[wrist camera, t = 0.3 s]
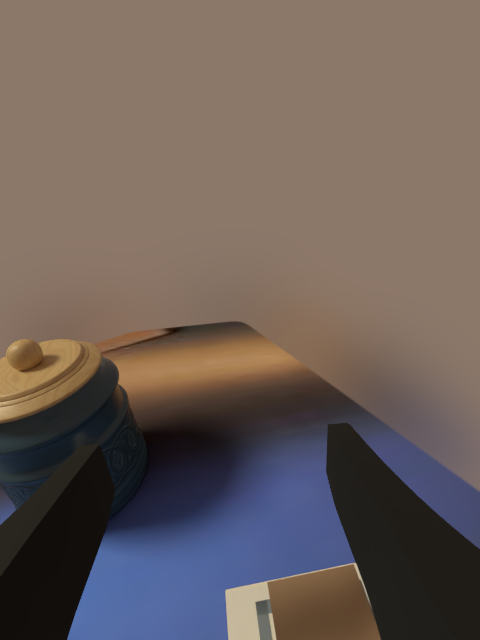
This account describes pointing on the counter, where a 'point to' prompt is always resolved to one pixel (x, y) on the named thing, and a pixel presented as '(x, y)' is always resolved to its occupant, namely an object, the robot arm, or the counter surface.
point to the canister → (64, 417)
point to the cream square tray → (257, 610)
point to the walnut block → (322, 607)
